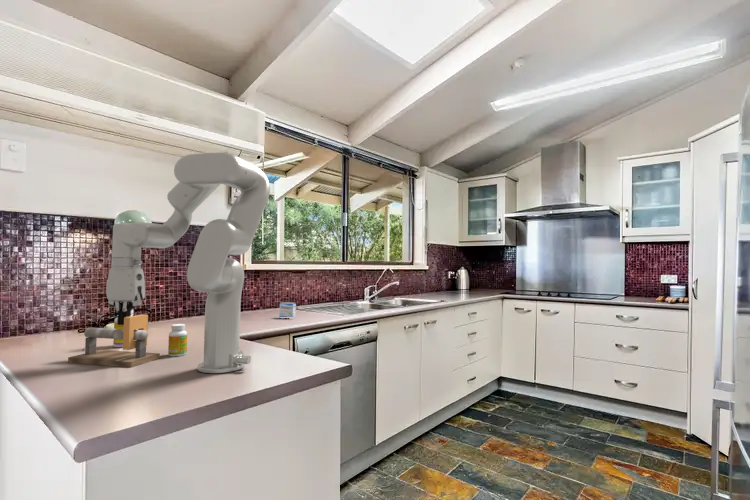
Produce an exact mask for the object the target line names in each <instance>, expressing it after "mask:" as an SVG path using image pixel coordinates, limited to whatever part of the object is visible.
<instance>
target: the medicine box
mask: <svg viewBox="0 0 750 500" xmlns="http://www.w3.org/2000/svg"><path fill="white" fill-rule="evenodd" d="M278 314H279V317H295V316H296V315H297V302H279V313H278Z"/></svg>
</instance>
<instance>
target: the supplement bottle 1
mask: <svg viewBox="0 0 750 500" xmlns="http://www.w3.org/2000/svg"><path fill="white" fill-rule="evenodd" d="M131 316H134V309H133V310H132V311H131ZM117 320H118V316H116V317H115V318H114V321H113V326H114V327H113V329H124V325H118V324H117ZM135 330H137V329H135ZM133 341H136V340H133ZM112 342H113V345H112V346H113V347H114V348H122V349H123V339H113V341H112Z"/></svg>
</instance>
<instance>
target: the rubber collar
mask: <svg viewBox="0 0 750 500" xmlns="http://www.w3.org/2000/svg"><path fill="white" fill-rule="evenodd" d="M148 323H149V314H137V315H133V316H130V317H124V332H123V348H122V351H130V350H134V349H135V350H136V341H138V340H135V341H133V337H134V330H135V329H136V330H146V331H147V332H148V331H149V329H148V328H149V326H148V325H149V324H148ZM146 346H148V338H147V339H146Z"/></svg>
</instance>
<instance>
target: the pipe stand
mask: <svg viewBox="0 0 750 500" xmlns="http://www.w3.org/2000/svg"><path fill="white" fill-rule="evenodd" d="M123 332H124V329H114V328H108V327H107V328H106V327H105V328H104V327H86V328H85V330H84V333H83V335H84V336H85V341H84V342H85V344H84V345H85V346H84V353H82V354H77V355H73V356H68V357H67V363H68V364H69V363H71V364H81V365H82V364H83V365H97V366H109V367H124V368H133V367H137V366H139V365H143V364H146V363H149V362H153V361H155V360H159V359H160V358H161V353H157V352H148V351H147V345H146V339H147V340H148V336H149V333H148V332H147V331H146V330H138V329H136V330H134V337H133V340H135V341H136V340H138V341H136V348H135V351H130V350H110V349H99V350H97V341H98V340H97V339H109V340H112V339H113V340H114V339H123Z"/></svg>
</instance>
